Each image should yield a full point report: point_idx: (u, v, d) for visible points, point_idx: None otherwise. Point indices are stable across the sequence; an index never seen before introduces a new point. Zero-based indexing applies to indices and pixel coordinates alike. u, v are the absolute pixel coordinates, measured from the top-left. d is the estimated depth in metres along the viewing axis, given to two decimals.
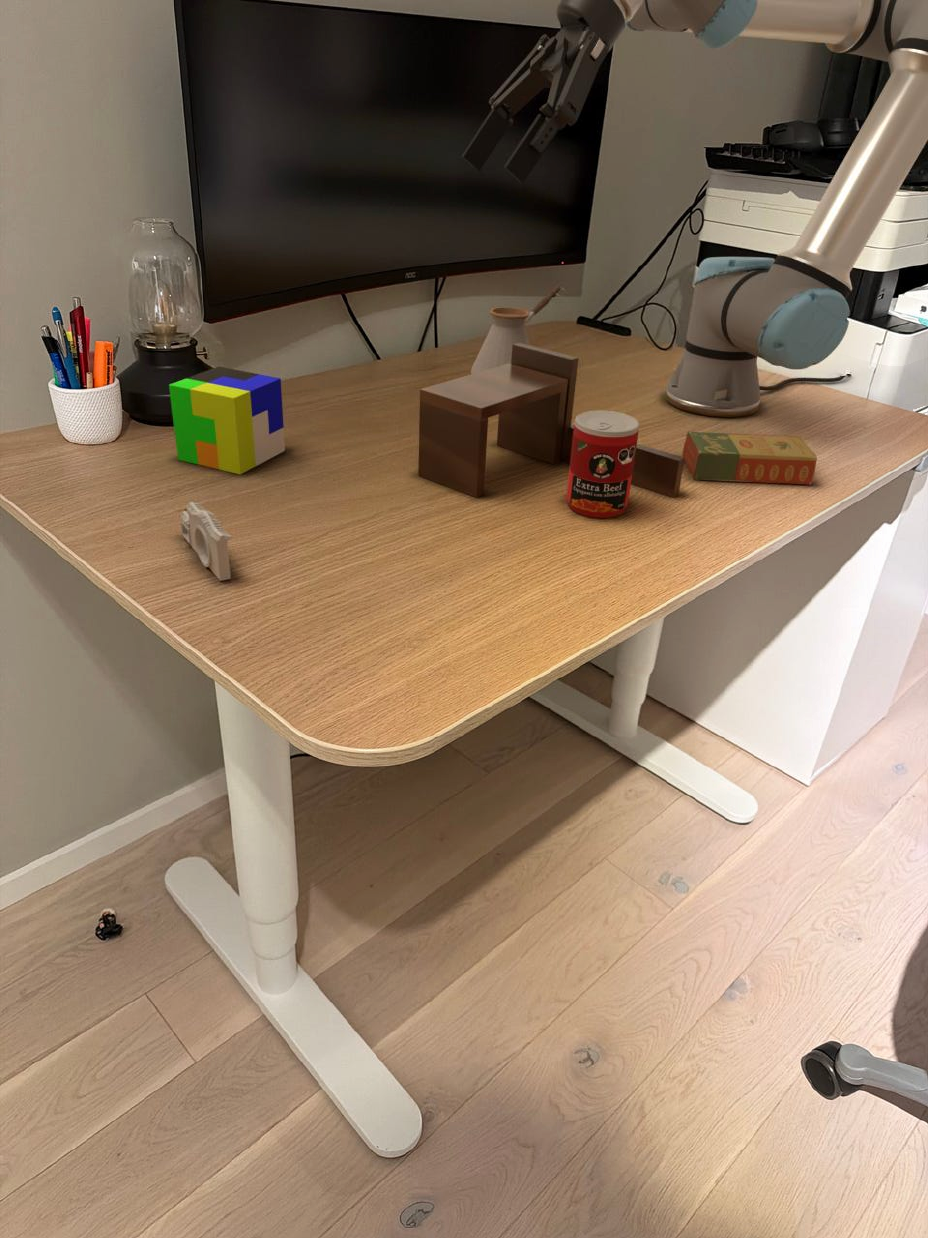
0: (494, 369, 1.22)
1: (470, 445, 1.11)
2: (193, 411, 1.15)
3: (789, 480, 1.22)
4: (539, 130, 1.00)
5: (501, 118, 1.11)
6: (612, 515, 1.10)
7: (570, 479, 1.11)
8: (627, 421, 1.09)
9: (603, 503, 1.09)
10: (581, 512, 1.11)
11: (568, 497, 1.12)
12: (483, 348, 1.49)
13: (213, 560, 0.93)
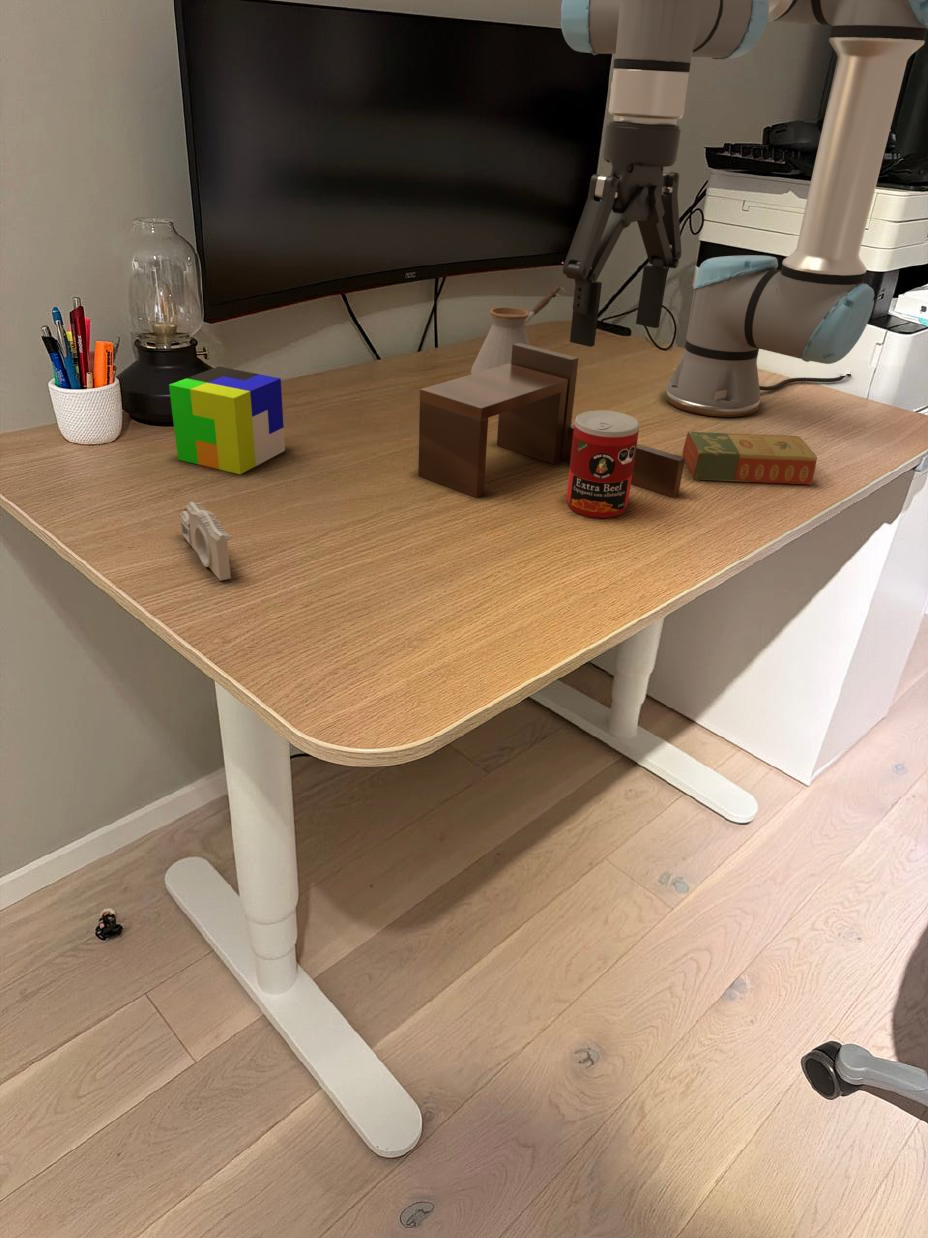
0: (494, 369, 1.22)
1: (470, 445, 1.11)
2: (193, 411, 1.15)
3: (789, 480, 1.22)
4: None
5: (653, 270, 1.04)
6: (612, 515, 1.10)
7: (570, 479, 1.11)
8: (627, 421, 1.09)
9: (603, 503, 1.09)
10: (581, 512, 1.11)
11: (568, 497, 1.12)
12: (483, 348, 1.49)
13: (213, 560, 0.93)
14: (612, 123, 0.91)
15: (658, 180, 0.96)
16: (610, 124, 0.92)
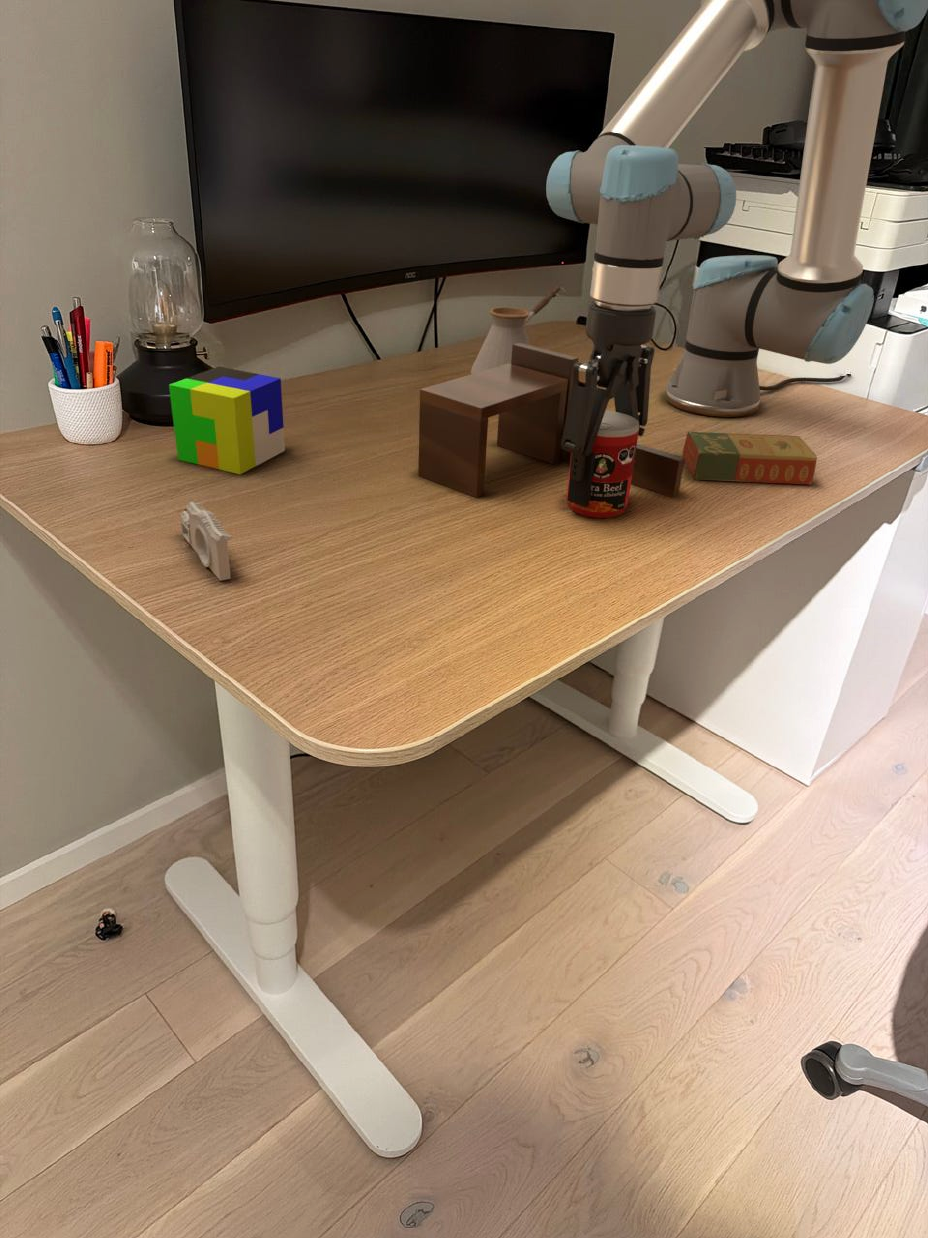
0: (494, 369, 1.22)
1: (470, 445, 1.11)
2: (193, 411, 1.15)
3: (789, 480, 1.22)
4: None
5: None
6: (612, 515, 1.10)
7: None
8: (627, 421, 1.09)
9: (603, 503, 1.09)
10: (581, 512, 1.11)
11: None
12: (483, 348, 1.49)
13: (213, 560, 0.93)
14: (593, 307, 1.00)
15: (637, 349, 1.05)
16: (591, 307, 1.00)
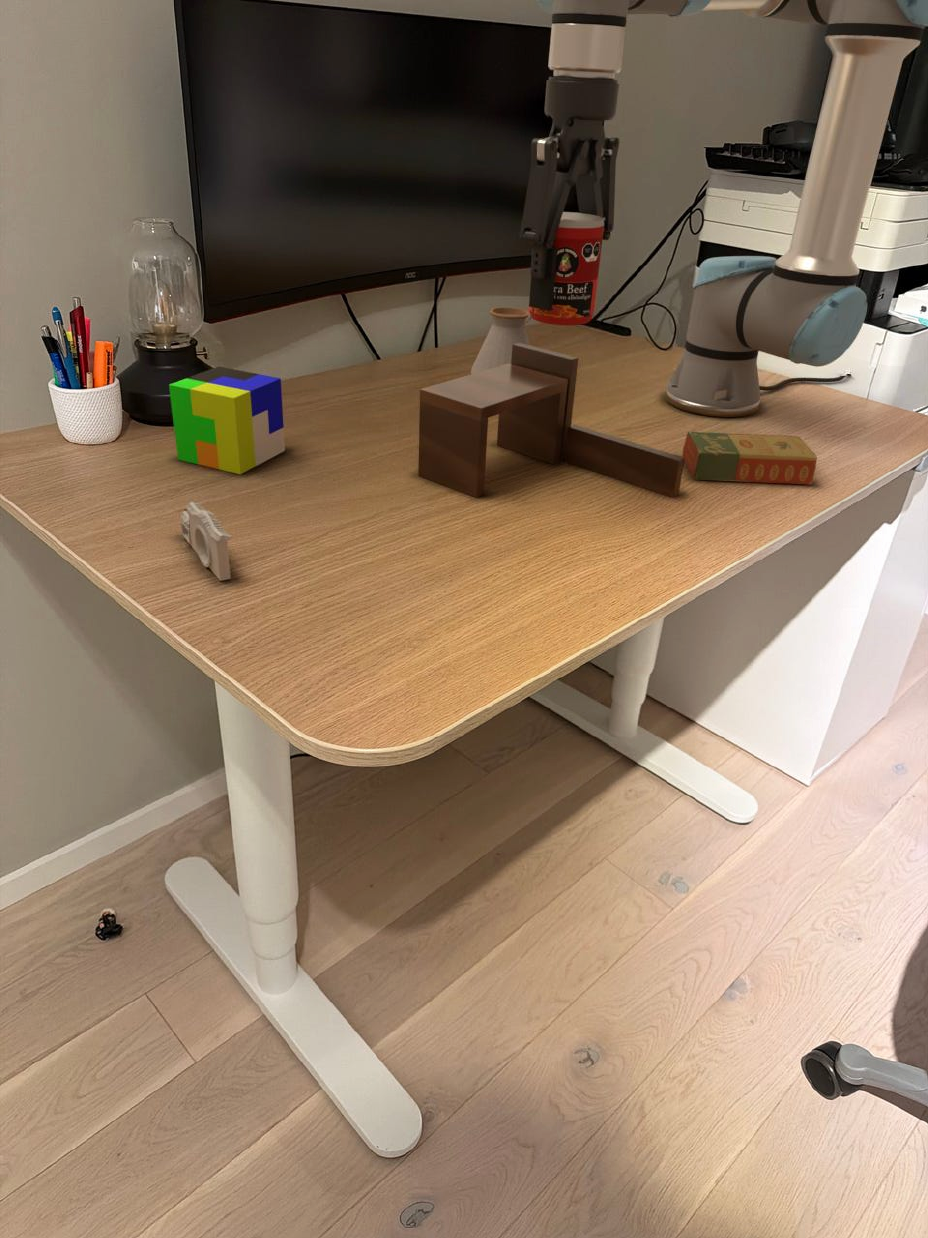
0: (494, 369, 1.22)
1: (470, 445, 1.11)
2: (193, 411, 1.15)
3: (789, 480, 1.22)
4: None
5: None
6: (577, 322, 1.04)
7: None
8: (592, 219, 1.02)
9: (567, 307, 1.02)
10: (544, 319, 1.04)
11: None
12: (483, 348, 1.49)
13: (213, 560, 0.93)
14: (552, 78, 0.93)
15: (600, 134, 0.98)
16: (550, 79, 0.94)
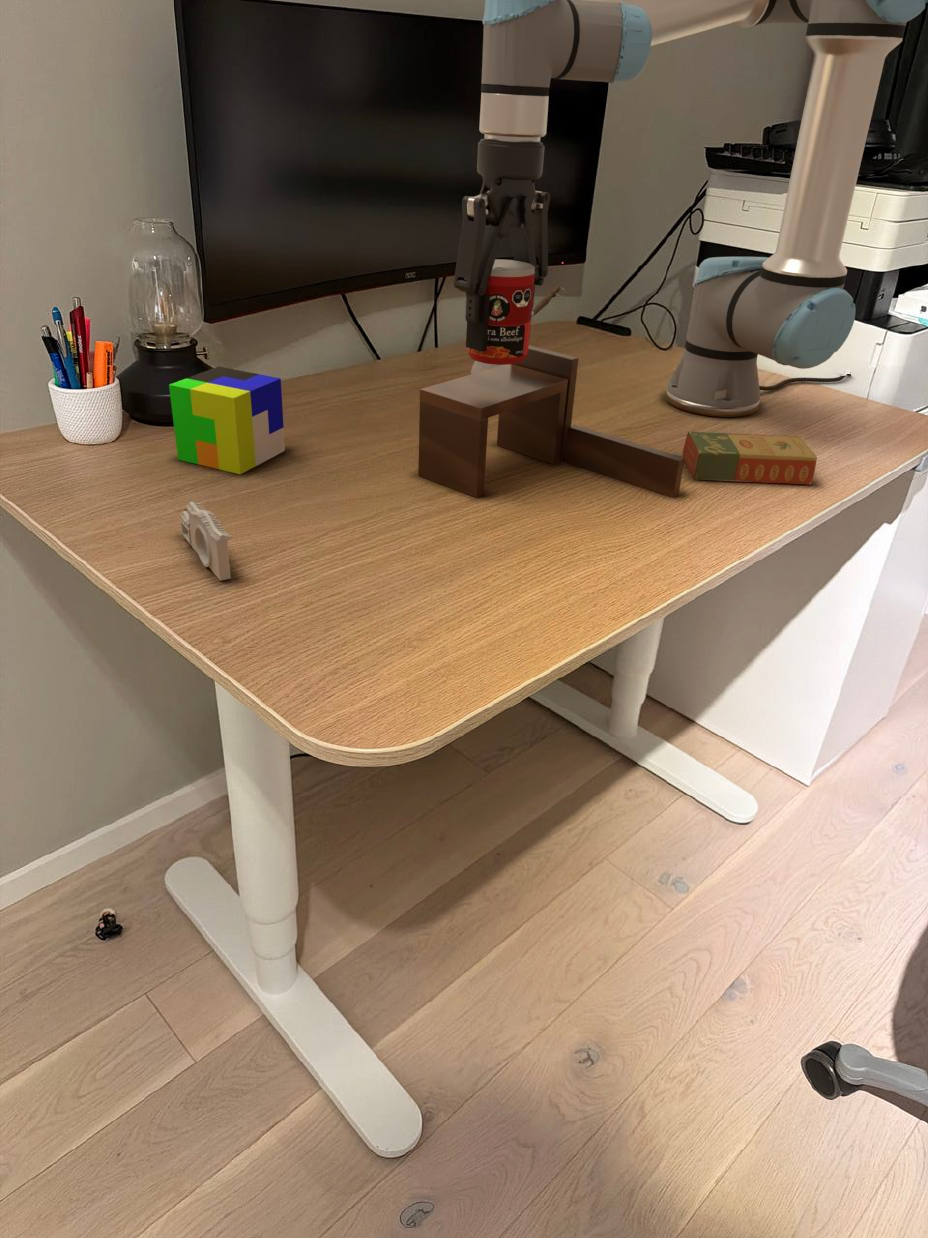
0: (494, 369, 1.22)
1: (470, 445, 1.11)
2: (193, 411, 1.15)
3: (789, 480, 1.22)
4: None
5: None
6: (510, 362, 1.12)
7: None
8: (524, 267, 1.10)
9: (500, 348, 1.10)
10: (480, 359, 1.12)
11: None
12: None
13: (213, 560, 0.93)
14: (482, 141, 1.01)
15: (530, 190, 1.06)
16: (480, 141, 1.02)
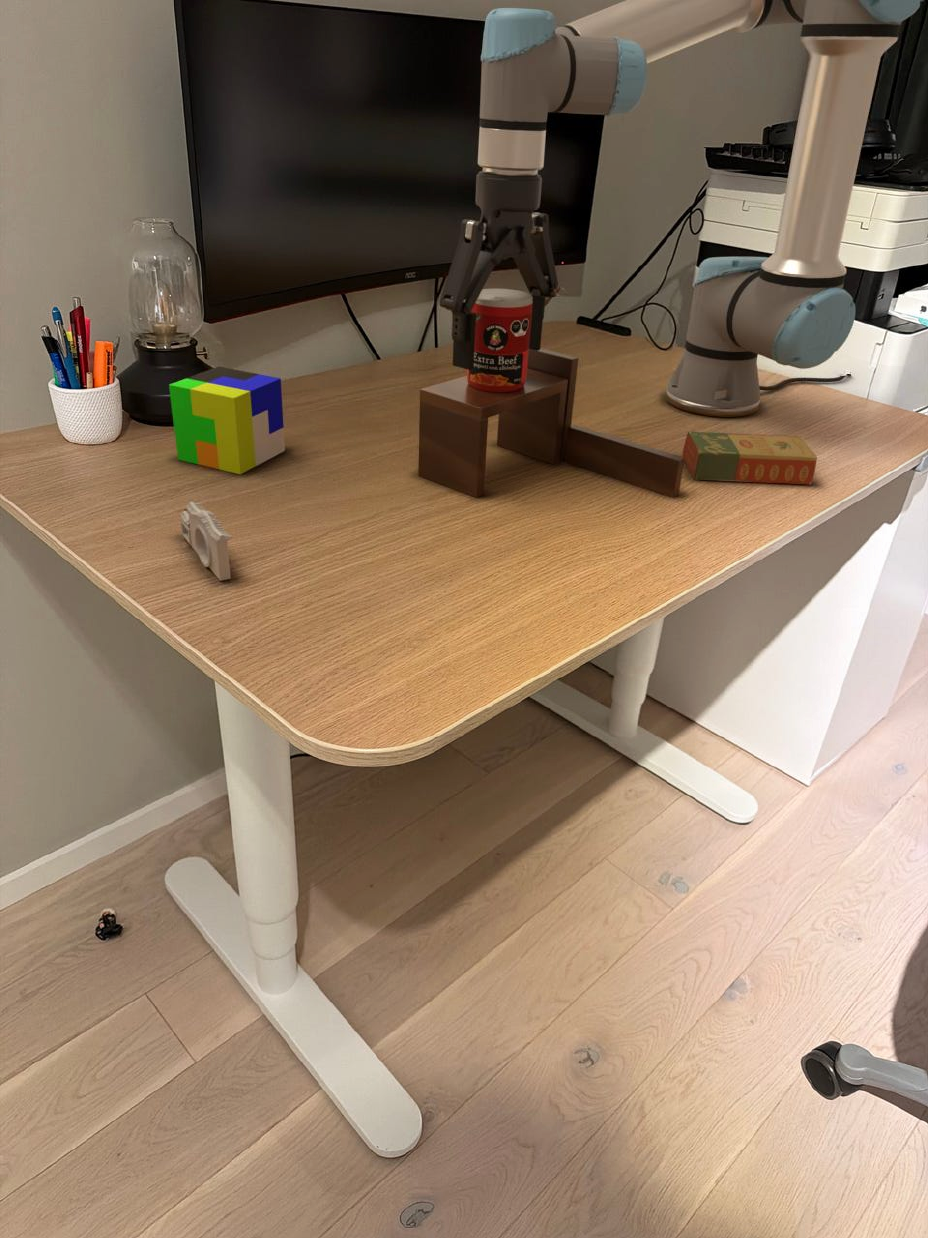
0: None
1: (470, 445, 1.11)
2: (193, 411, 1.15)
3: (789, 480, 1.22)
4: None
5: (532, 299, 1.16)
6: (509, 390, 1.14)
7: None
8: (522, 296, 1.12)
9: (499, 376, 1.12)
10: (479, 387, 1.14)
11: (467, 374, 1.15)
12: None
13: (213, 560, 0.93)
14: (480, 174, 1.03)
15: (527, 222, 1.08)
16: (479, 174, 1.04)
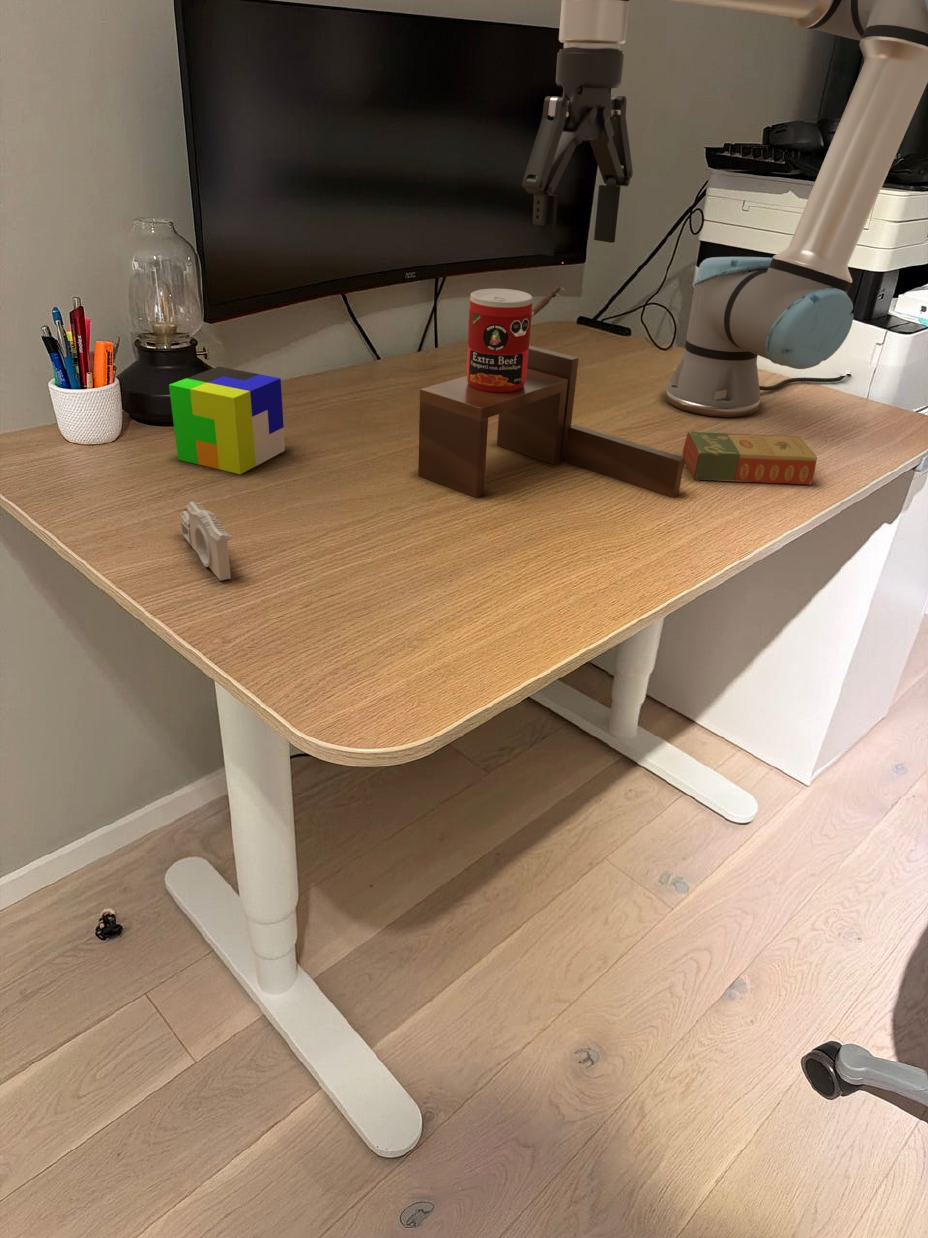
0: None
1: (470, 445, 1.11)
2: (193, 411, 1.15)
3: (789, 480, 1.22)
4: None
5: (607, 188, 1.15)
6: (509, 390, 1.14)
7: (468, 354, 1.14)
8: (522, 296, 1.12)
9: (499, 376, 1.12)
10: (479, 387, 1.14)
11: (467, 374, 1.15)
12: None
13: (213, 560, 0.93)
14: (562, 50, 1.02)
15: (606, 102, 1.07)
16: (560, 51, 1.02)
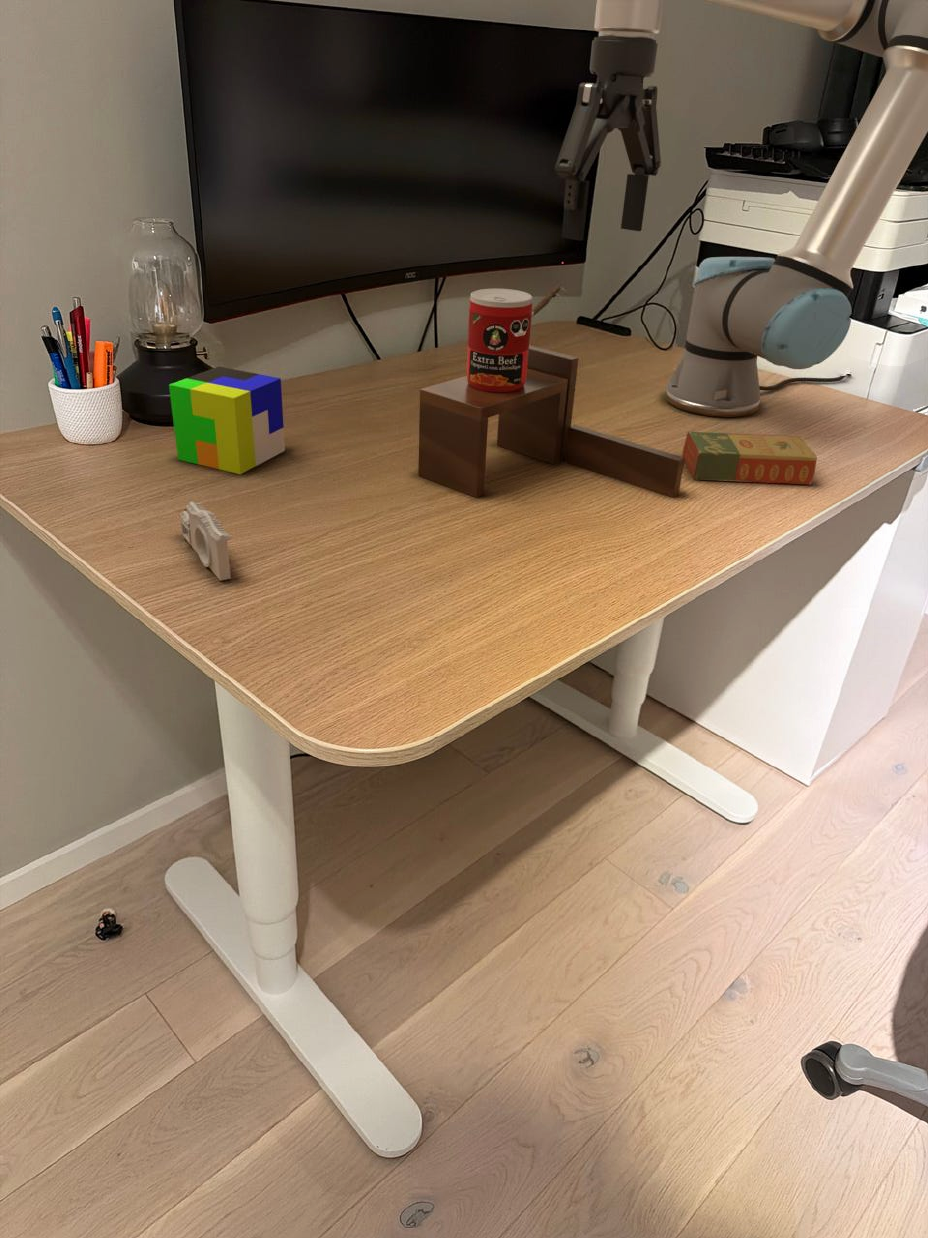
0: None
1: (470, 445, 1.11)
2: (193, 411, 1.15)
3: (789, 480, 1.22)
4: None
5: (636, 177, 1.17)
6: (509, 390, 1.14)
7: (468, 354, 1.14)
8: (522, 296, 1.12)
9: (499, 376, 1.12)
10: (479, 387, 1.14)
11: (467, 374, 1.15)
12: None
13: (213, 560, 0.93)
14: (597, 38, 1.04)
15: (638, 91, 1.09)
16: (595, 39, 1.04)
